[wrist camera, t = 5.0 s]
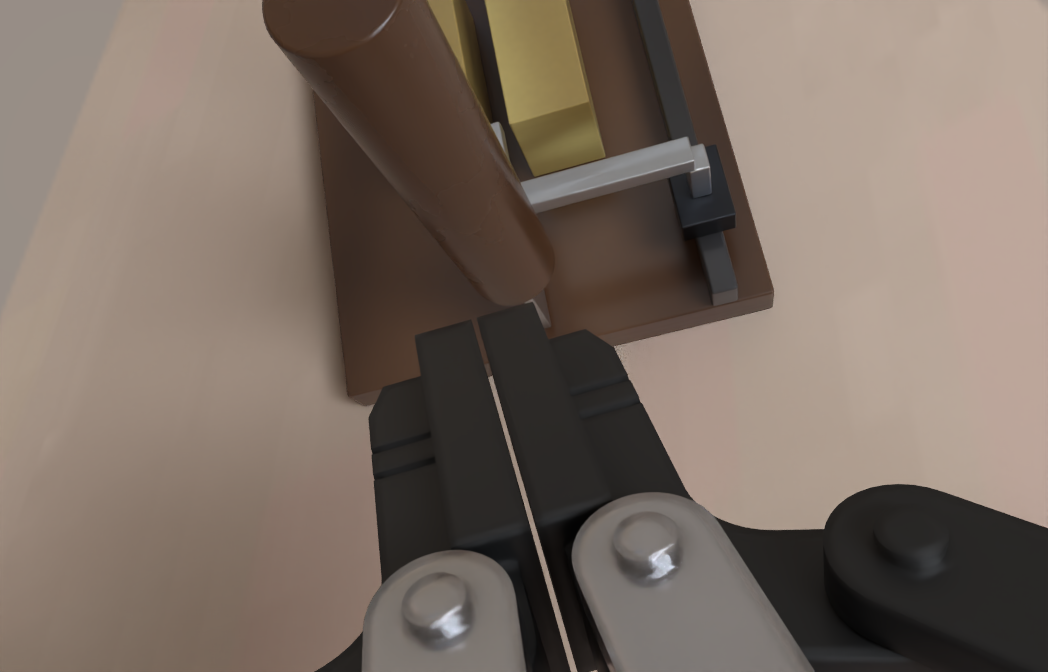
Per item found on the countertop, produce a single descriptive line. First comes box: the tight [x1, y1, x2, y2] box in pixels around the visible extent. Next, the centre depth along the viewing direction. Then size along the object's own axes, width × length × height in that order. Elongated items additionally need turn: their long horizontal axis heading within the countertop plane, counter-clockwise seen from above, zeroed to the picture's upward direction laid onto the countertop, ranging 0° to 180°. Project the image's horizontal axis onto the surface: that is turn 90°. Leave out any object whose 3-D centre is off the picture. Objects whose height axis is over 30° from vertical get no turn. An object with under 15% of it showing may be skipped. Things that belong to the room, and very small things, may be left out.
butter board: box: [313, 0, 774, 406], centre depth 30 cm, size 14×18×5 cm
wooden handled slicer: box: [262, 0, 736, 329], centre depth 21 cm, size 8×6×16 cm
